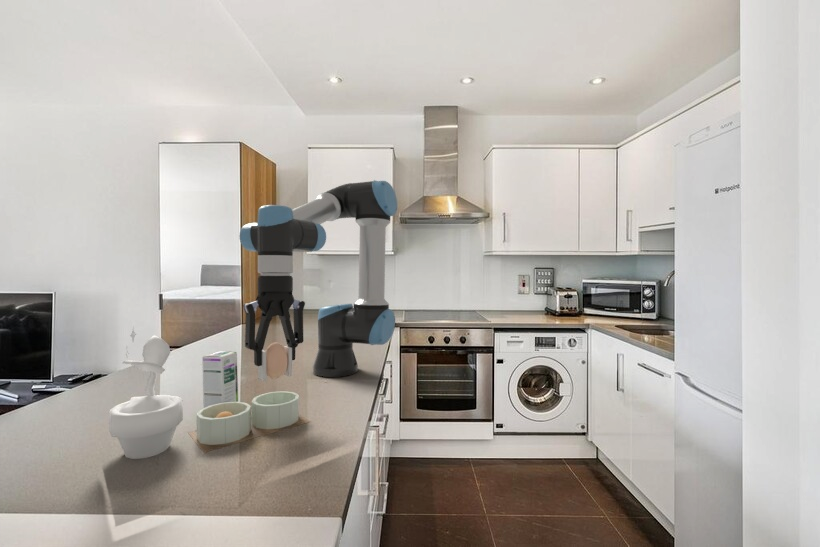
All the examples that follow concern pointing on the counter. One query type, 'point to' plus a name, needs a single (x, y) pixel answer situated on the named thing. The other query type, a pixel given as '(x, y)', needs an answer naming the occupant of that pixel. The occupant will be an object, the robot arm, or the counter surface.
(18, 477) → the counter surface
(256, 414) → the cup
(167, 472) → the counter surface
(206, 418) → the cup
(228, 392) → the syrup box
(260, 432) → the rack board
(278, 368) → the egg
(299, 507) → the counter surface
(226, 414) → the rubber ball
